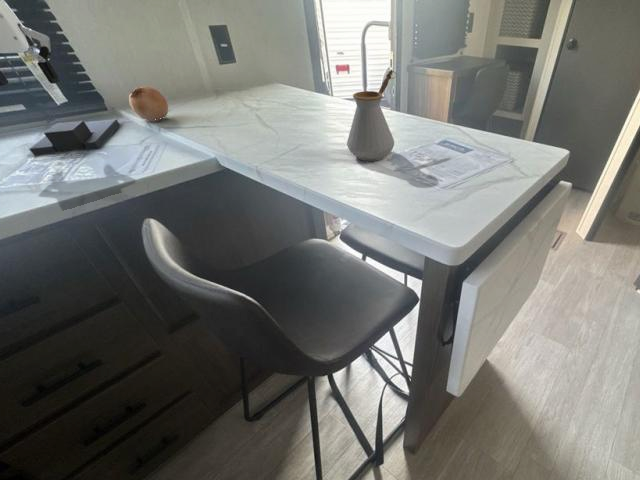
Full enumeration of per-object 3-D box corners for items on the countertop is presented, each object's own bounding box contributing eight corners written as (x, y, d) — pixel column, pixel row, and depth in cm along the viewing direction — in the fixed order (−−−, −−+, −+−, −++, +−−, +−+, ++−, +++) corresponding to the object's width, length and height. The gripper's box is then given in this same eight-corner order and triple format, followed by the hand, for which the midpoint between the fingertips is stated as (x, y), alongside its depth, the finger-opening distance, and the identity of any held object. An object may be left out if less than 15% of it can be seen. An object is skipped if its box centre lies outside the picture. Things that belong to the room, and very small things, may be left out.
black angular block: (58, 152, 79) (43, 133, 76) (69, 141, 85) (56, 123, 81) (85, 149, 81) (72, 130, 78) (95, 138, 86) (83, 120, 83)
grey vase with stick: (384, 167, 72) (381, 91, 62) (340, 160, 75) (329, 86, 64) (413, 136, 86) (414, 70, 75) (374, 132, 89) (371, 67, 78)
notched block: (34, 155, 78) (28, 148, 77) (64, 129, 91) (61, 124, 90) (98, 148, 81) (94, 142, 80) (119, 124, 94) (116, 119, 93)
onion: (159, 134, 97) (134, 105, 87) (138, 120, 98) (111, 90, 89) (182, 115, 99) (160, 85, 90) (161, 102, 101) (137, 71, 91)
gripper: (-118, -24, 56) (-27, 89, 68) (2, -21, 60) (68, 85, 72) (-88, -24, 61) (-8, 81, 73) (21, -21, 65) (79, 78, 77)
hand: (30, 83), depth 73 cm, fingers open, 9 cm apart
